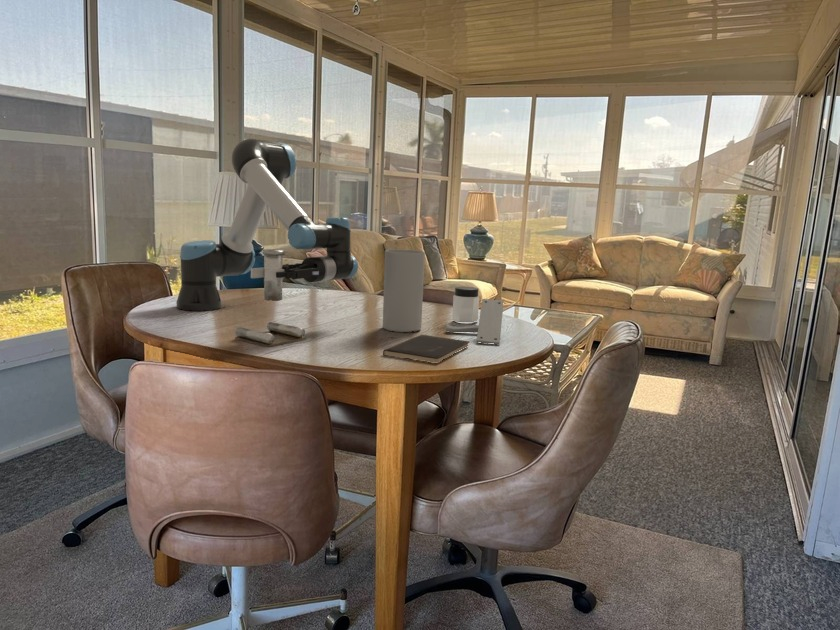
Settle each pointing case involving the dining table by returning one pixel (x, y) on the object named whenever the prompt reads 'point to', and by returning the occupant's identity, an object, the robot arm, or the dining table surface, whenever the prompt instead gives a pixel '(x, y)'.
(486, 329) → the door handle
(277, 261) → the hinge pin
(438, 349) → the hardcover book
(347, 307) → the dining table surface
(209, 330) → the dining table surface
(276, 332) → the hinge leaf
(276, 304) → the dining table surface
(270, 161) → the robot arm
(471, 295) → the jar
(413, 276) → the cylinder vase
